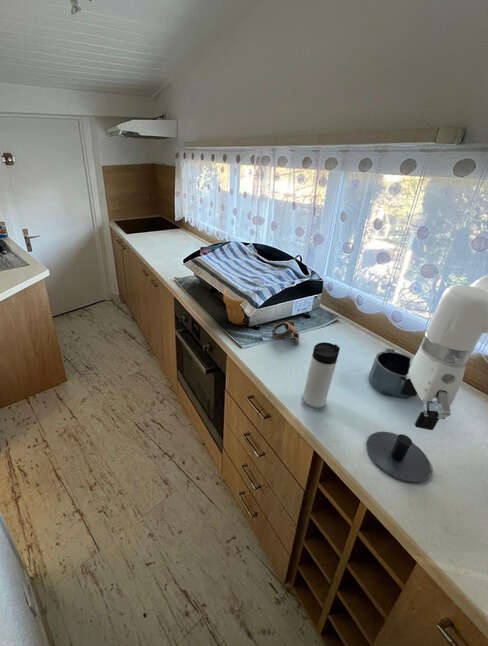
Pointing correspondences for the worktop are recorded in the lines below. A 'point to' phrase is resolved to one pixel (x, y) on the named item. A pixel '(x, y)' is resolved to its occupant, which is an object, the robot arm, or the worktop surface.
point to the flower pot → (234, 309)
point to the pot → (389, 373)
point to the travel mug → (320, 374)
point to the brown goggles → (289, 330)
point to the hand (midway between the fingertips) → (414, 410)
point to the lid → (398, 457)
